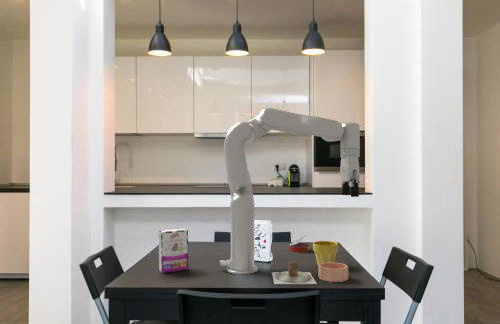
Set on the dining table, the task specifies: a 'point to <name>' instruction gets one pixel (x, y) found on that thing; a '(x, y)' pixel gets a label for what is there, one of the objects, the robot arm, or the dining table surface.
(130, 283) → the dining table surface
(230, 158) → the robot arm
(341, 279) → the bowl
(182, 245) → the candy bar box
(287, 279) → the lid
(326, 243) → the plant pot
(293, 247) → the canned food
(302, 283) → the square white plate
